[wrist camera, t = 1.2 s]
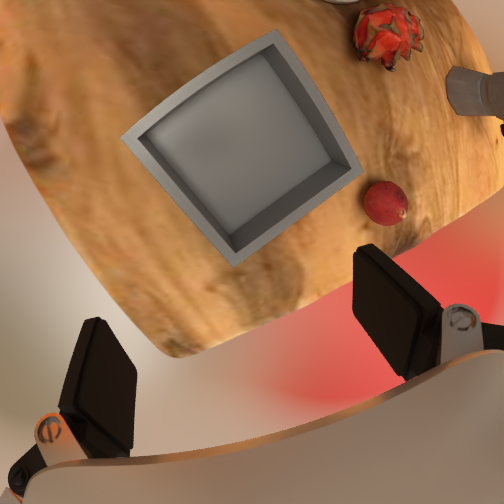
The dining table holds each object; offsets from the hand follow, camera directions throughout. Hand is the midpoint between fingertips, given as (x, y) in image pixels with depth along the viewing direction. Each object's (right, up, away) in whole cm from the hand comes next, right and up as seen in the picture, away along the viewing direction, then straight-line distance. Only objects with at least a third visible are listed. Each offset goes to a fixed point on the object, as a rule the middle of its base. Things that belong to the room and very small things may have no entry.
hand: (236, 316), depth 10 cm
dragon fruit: (+16, +30, +18) cm, 39 cm away
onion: (+17, +10, +28) cm, 35 cm away
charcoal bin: (-1, +15, +22) cm, 26 cm away
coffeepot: (+36, +28, +24) cm, 51 cm away
